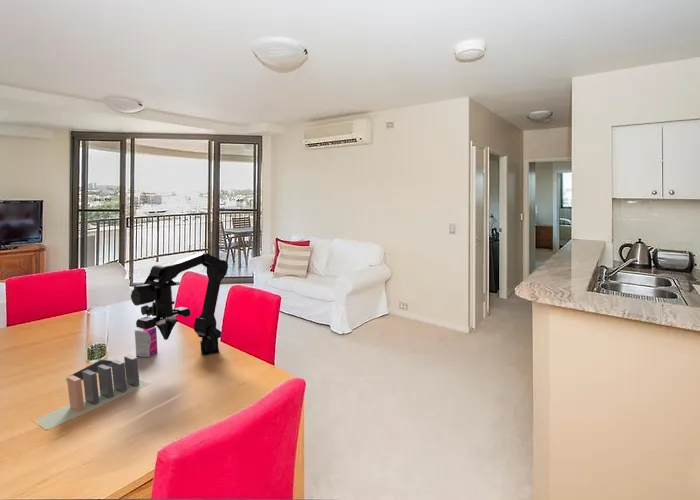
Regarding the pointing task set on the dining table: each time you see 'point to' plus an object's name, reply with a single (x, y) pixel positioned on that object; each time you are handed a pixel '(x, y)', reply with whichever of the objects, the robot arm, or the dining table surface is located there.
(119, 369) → the domino
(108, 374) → the domino
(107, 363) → the smartphone
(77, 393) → the domino
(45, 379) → the dining table surface
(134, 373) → the domino
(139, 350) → the supplement box
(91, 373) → the domino
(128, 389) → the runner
